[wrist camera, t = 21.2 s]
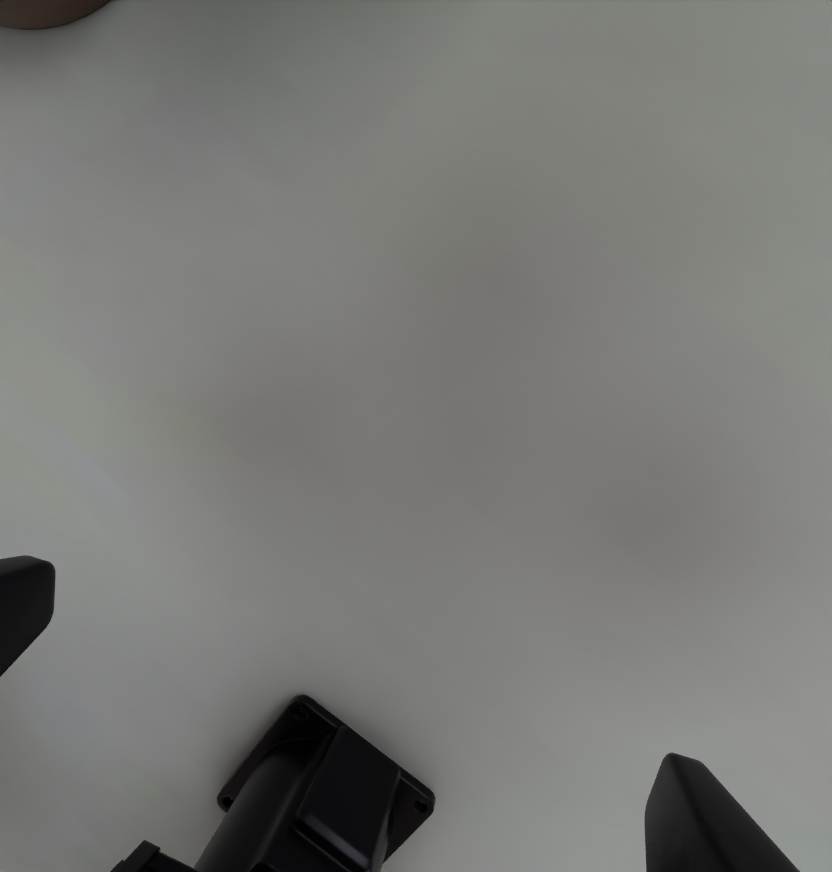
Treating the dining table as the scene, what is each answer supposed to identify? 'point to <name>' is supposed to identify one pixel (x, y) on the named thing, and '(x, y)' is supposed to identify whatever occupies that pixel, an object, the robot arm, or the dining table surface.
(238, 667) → the dining table surface
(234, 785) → the robot arm
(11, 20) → the platform
